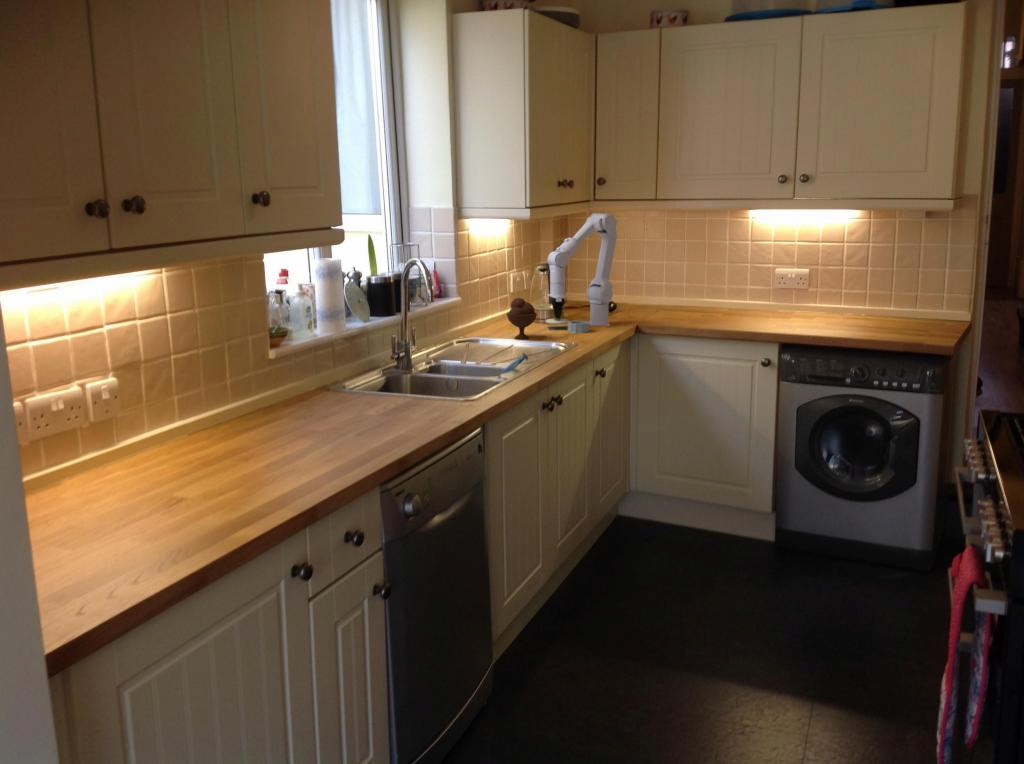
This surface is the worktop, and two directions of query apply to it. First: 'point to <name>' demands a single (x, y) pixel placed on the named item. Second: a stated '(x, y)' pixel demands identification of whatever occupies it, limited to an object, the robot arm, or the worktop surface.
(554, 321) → the lid
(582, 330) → the bowl
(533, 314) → the ice cream bowl
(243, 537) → the worktop surface
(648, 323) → the worktop surface
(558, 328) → the mat
